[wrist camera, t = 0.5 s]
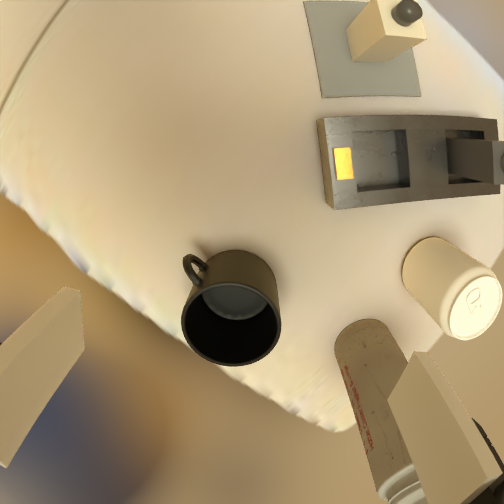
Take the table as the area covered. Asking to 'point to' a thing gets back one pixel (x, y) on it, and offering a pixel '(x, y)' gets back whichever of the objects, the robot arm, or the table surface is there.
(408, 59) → the mat
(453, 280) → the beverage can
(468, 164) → the twin plug
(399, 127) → the strip
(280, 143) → the table surface
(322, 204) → the table surface
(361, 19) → the plug
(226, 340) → the mug
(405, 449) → the thermos bottle
